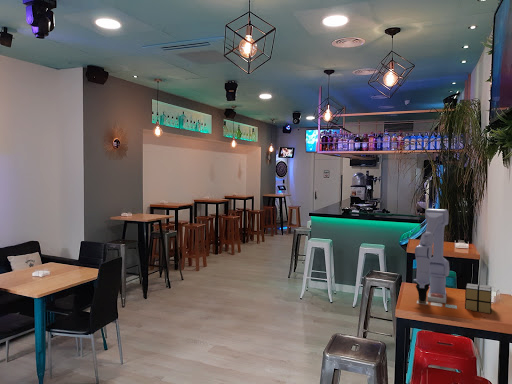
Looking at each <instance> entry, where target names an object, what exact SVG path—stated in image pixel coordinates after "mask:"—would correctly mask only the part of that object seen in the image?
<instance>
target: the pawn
mask: <svg viewBox="0 0 512 384" xmlns="http://www.w3.org/2000/svg"><path fill="white" fill-rule="evenodd" d="M427 298H428V292H427V293H426V298H425V301H420V300H419V299H418V301H419V303H423V304H422V305H426V304H425V303H426V302H427ZM419 303H418V304H419Z"/></svg>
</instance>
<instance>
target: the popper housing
mask: <svg viewBox="0 0 512 384" xmlns="http://www.w3.org/2000/svg"><path fill="white" fill-rule="evenodd" d="M431 295H432V293H429V292H427V297H426V302H433V303H441V304H447V294H446V295H443V294H442V295H443V297H442V298H438V297H431Z"/></svg>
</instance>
